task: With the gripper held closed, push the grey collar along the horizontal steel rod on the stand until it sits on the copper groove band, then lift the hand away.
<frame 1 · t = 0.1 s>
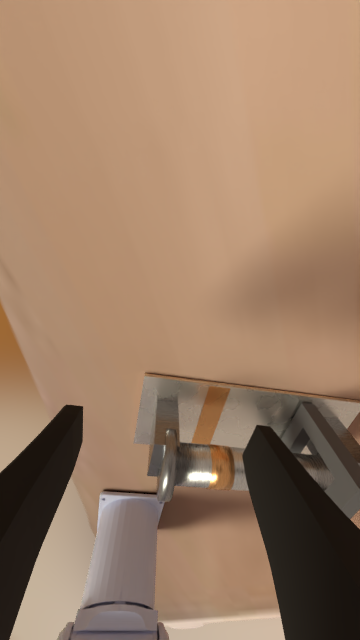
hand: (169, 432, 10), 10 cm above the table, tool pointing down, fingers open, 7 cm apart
rail: (245, 420, 24), on the table
collar: (312, 467, 21), point 4 cm above the table, slide at 0.0 cm
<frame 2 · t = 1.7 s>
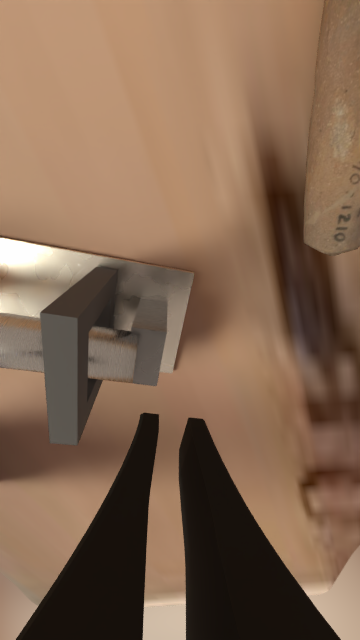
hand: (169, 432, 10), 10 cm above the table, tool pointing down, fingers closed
rail: (38, 304, 17), on the table
pipe: (325, 92, 13), on the table
collar: (88, 345, 14), point 4 cm above the table, slide at 0.0 cm
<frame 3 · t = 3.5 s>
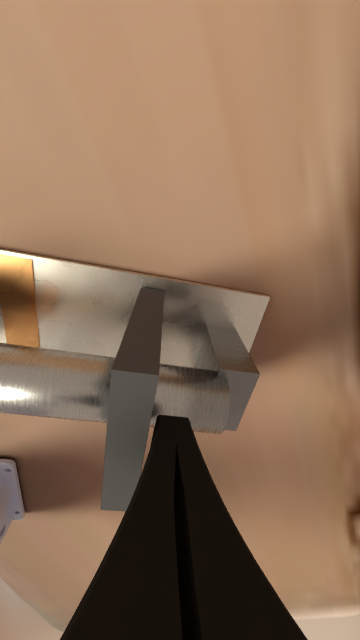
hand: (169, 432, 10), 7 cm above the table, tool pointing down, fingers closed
rail: (88, 331, 15), on the table
collar: (137, 383, 12), point 4 cm above the table, slide at 1.2 cm, touching gripper
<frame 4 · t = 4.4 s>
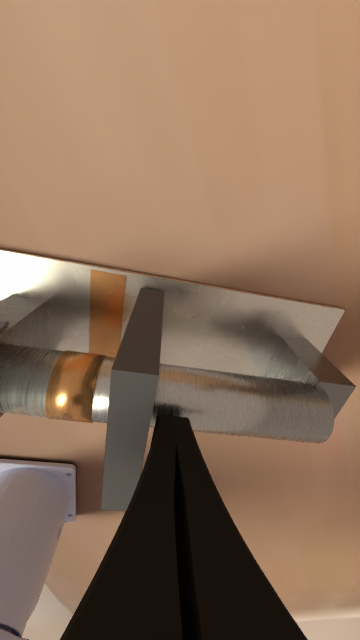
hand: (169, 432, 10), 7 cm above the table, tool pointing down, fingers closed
rail: (165, 342, 16), on the table
collar: (137, 383, 12), point 4 cm above the table, slide at 6.4 cm, touching gripper
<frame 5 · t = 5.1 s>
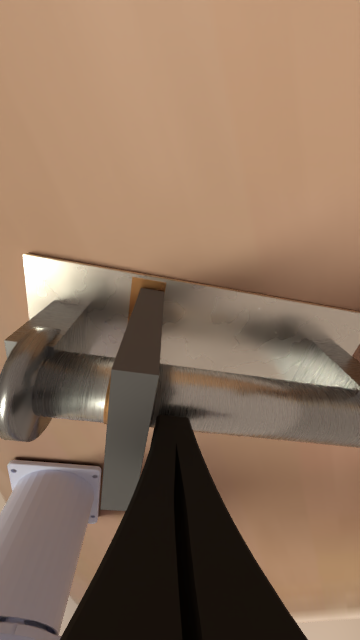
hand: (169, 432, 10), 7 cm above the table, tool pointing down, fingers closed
rail: (198, 346, 16), on the table
collar: (137, 383, 12), point 4 cm above the table, slide at 8.7 cm, touching gripper
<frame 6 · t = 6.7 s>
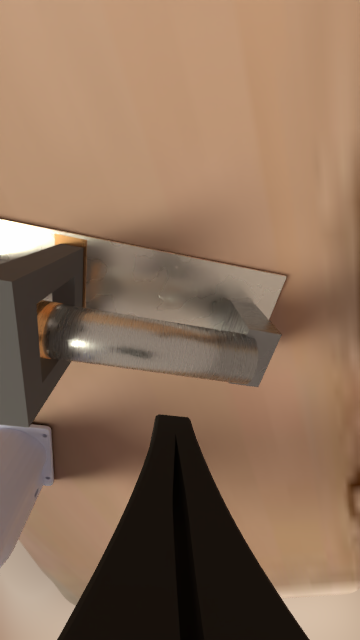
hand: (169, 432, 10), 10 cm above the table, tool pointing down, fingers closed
rail: (127, 305, 18), on the table
collar: (47, 323, 13), point 4 cm above the table, slide at 8.9 cm
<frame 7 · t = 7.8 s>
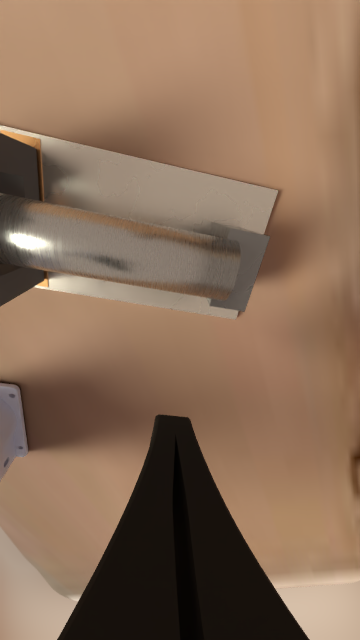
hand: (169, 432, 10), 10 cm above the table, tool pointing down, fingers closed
rail: (95, 231, 15), on the table
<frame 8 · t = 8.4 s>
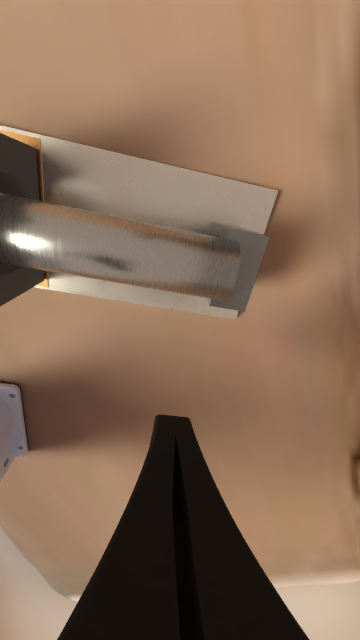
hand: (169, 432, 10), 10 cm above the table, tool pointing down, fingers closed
rail: (95, 231, 15), on the table
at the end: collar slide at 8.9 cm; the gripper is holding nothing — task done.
